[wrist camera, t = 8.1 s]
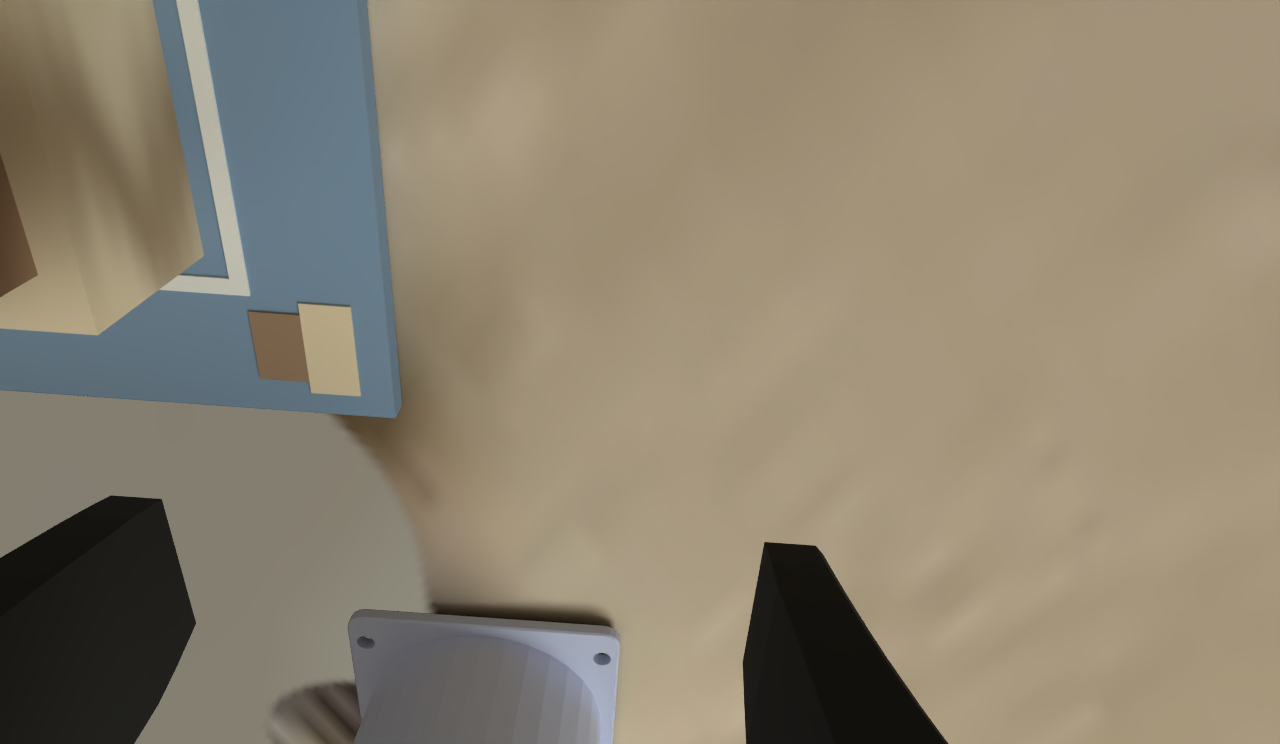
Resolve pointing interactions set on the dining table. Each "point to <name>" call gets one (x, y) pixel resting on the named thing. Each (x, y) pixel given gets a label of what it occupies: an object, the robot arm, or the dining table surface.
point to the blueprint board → (257, 228)
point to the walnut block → (12, 241)
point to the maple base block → (91, 161)
